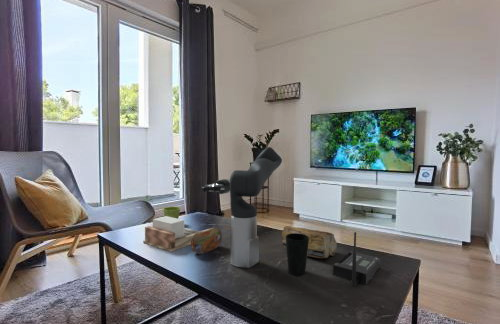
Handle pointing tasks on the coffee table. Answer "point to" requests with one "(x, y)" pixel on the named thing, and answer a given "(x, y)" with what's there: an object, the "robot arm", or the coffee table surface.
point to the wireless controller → (356, 266)
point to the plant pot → (172, 211)
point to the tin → (206, 240)
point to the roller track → (178, 243)
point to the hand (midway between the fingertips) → (202, 189)
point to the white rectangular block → (170, 225)
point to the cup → (297, 253)
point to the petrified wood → (314, 241)
